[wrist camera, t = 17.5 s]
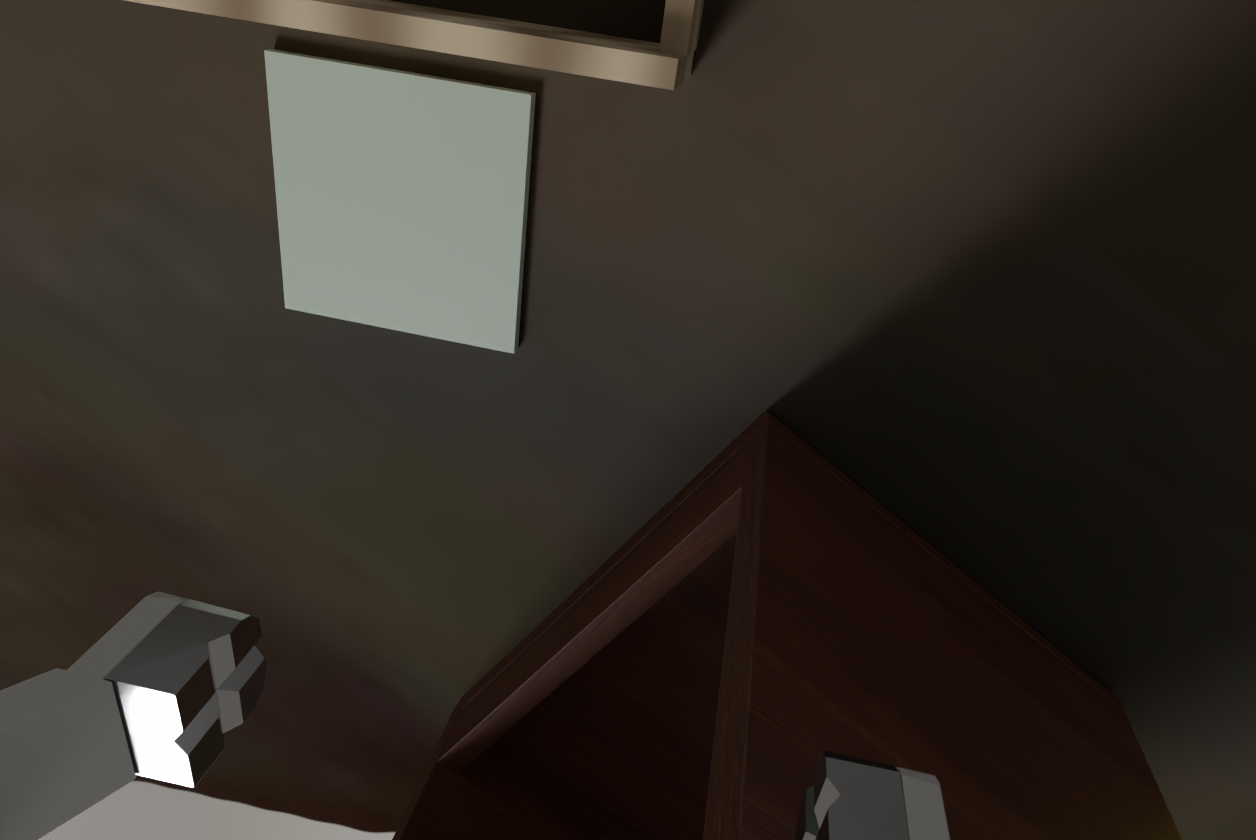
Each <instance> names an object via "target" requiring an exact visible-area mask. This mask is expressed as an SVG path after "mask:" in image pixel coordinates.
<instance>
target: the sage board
mask: <svg viewBox="0 0 1256 840" xmlns="http://www.w3.org/2000/svg"><path fill="white" fill-rule="evenodd" d="M264 53H265V65H266V78H267V90H268V102H269V114H270V127H271V139H272V151H273V164H274V176H275V188H276V201H277V213H278V225H279V238H280V250H281V262H282V275H283V287H284V299H285V308H287V309H292V310H297V311H302V312H307V313H312V314H317V315H322V316H327V317H332V318H337V319H342V320H347V321H353V322H358V323H363V324H368V325H373V326H378V327H383V328H388V329H393V330H398V331H403V332H408V333H413V334H418V335H423V336H428V337H433V338H438V339H443V340H448V341H453V342H458V343H463V344H468V345H473V346H478V347H483V348H488V349H493V350H498V351H503V352H508V353H513V354H514V353H515V352H516V350H517V349H518V342H519V328H520V314H521V299H522V285H523V270H524V256H525V242H526V227H527V213H528V198H529V184H530V170H531V155H532V141H533V127H534V112H535V98H536V93H533V92H527V91H521V90H515V89H509V88H503V87H497V86H491V85H485V84H479V83H473V82H467V81H461V80H455V79H449V78H443V77H437V76H431V75H425V74H419V73H413V72H407V71H401V70H395V69H389V68H383V67H377V66H371V65H365V64H359V63H353V62H347V61H341V60H335V59H329V58H323V57H317V56H311V55H305V54H299V53H293V52H287V51H281V50H275V49H271V50H264Z"/></svg>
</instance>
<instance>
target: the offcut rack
mask: <svg viewBox="0 0 1256 840" xmlns="http://www.w3.org/2000/svg"><path fill="white" fill-rule="evenodd" d="M125 1H131V2H137V3H143V4H150V5H156V6H162V7H168V8H174V9H180V10H186V11H192V12H198V13H205V14H211V15H217V16H223V17H229V18H235V19H241V20H247V21H253V22H260V23H266V24H272V25H278V26H284V27H290V28H296V29H302V30H308V31H315V32H321V33H327V34H333V35H339V36H345V37H351V38H357V39H363V40H370V41H376V42H382V43H388V44H394V45H400V46H406V47H412V48H418V49H425V50H431V51H437V52H443V53H449V54H455V55H461V56H467V57H473V58H480V59H486V60H492V61H498V62H504V63H510V64H516V65H522V66H528V67H535V68H541V69H547V70H553V71H559V72H565V73H571V74H577V75H583V76H590V77H596V78H602V79H608V80H614V81H620V82H626V83H632V84H638V85H645V86H651V87H657V88H663V89H669V90H675V89H676V88H677V87H678V86H679V85H680V84H682V83H683V82H684V81H685V80H686V79H688V78H689V77H690V75H691V69H692V62H693V56H694V51H695V50H696V49H697V44H698V37H699V31H700V25H701V18H702V12H703V5H704V0H666V4H665V11H664V19H663V26H662V33H661V41H660V43H655V42H648V41H642V40H636V39H629V38H623V37H617V36H610V35H604V34H598V33H591V32H585V31H579V30H572V29H566V28H560V27H553V26H547V25H541V24H535V23H528V22H522V21H516V20H509V19H503V18H497V17H490V16H484V15H478V14H471V13H465V12H459V11H452V10H446V9H440V8H433V7H427V6H421V5H414V4H408V3H402V2H395V1H389V0H125Z"/></svg>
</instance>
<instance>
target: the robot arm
mask: <svg viewBox="0 0 1256 840" xmlns="http://www.w3.org/2000/svg"><path fill="white" fill-rule="evenodd" d="M261 636H262V634H261V628H260V623H259V618H256V617H254V616H251V615H247V614H244V613H240V612H236V611H232V610H229V609H225V608H221V607H217V606H213V605H210V604H206V603H202V602H198V601H195V600H191V599H186V598H182V597H178V596H174V595H170V594H166V593H162V592H156V593H153V594H151V595H148V596H146V597H145V598H144V599H142V600H141V601H140V602H139V603H138V604H137V605H136V606H135V607H134V608H133V609H132V610H131V611H130V612H129V613H127V614H126V615H125V616H124V617H123V618H122V619H121V620H120V621H119V622H118V623H117V624H116V625H115V626H113V627H112V628H111V629H110V630H109V631H108V632H107V633H106V634H105V635H104V636H103V637H102V638H101V639H100V640H98V641H97V642H96V643H95V644H94V645H93V646H92V647H91V648H90V649H89V650H88V651H87V652H86V653H85V654H83V655H82V656H81V657H80V658H79V659H78V660H77V661H76V662H75V663H74V664H73V665H72V666H71V667H70V668H68V669H67V670H63V669H58V668H56V669H53V670H51V671H48V672H46V673H43V674H41V675H38V676H36V677H33V678H31V679H28V680H26V681H23V682H21V683H18V684H16V685H13V686H11V687H8V688H6V689H3V690H1V691H0V840H38V839H39V838H41V837H43V836H44V835H46V834H47V833H49V832H51V831H52V830H54V829H55V828H57V827H58V826H60V825H62V824H63V823H65V822H67V821H68V820H70V819H71V818H73V817H75V816H76V815H78V814H80V813H81V812H83V811H84V810H86V809H88V808H89V807H91V806H92V805H94V804H96V803H97V802H99V801H101V800H102V799H104V798H105V797H107V796H108V795H110V794H112V793H113V792H115V791H116V790H118V789H120V788H122V787H123V786H125V785H126V784H128V783H130V782H131V781H133V780H134V779H136V775H139V776H144V777H148V778H152V779H157V780H161V781H166V782H170V783H174V784H179V785H183V786H187V787H192V788H195V786H196V785H197V784H198V782H199V781H200V780H201V778H202V777H203V776H204V774H205V773H206V772H207V770H208V769H209V768H210V767H211V765H212V764H213V763H214V761H215V760H216V759H217V757H218V756H219V755H220V753H221V752H222V751H223V749H224V734H223V733H225V732H227V731H229V730H231V729H232V728H234V727H236V726H238V725H240V724H242V723H244V721H245V720H246V718H247V717H248V716H249V714H250V713H251V712H252V710H253V709H254V707H255V706H256V703H257V701H258V699H259V696H260V694H261V692H262V689H263V687H264V681H265V674H266V666H265V658H264V657H263V656H262V654H261V653H260V652H259V651H258V650H257V648H256V647H255V646H254V645H255V644H256V642H257V641H258V640H259V639H260V637H261ZM813 772H814V785H812V786H811V787H809V788H807V789H806V790H805V793H804V796H803V799H802V802H801V805H800V810H799V815H798V821H797V826H796V839H795V840H950V836H949V830H948V825H947V819H946V814H945V809H944V803H943V798H942V792H941V787H940V783H939V781H938V780H937V778H936V776H934V775H930V774H926V773H921V772H917V771H913V770H908V769H904V768H900V767H896V768H895V767H894V766H893V765H889V764H884V763H880V762H875V761H871V760H866V759H862V758H858V757H853V756H849V755H844V754H840V753H835V752H831V751H826V750H822V751H821V752H820V753H819V755H818V757H817V759H816V762H815V765H814V767H813Z"/></svg>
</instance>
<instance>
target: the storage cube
mask: <svg viewBox="0 0 1256 840" xmlns="http://www.w3.org/2000/svg"><path fill="white" fill-rule="evenodd" d="M822 750H826V751H831V752H835V753H840V754H844V755H849V756H853V757H858V758H862V759H866V760H871V761H875V762H880V763H884V764H889V765H893V766H894V767H895V768H896V767H900V768H904V769H908V770H913V771H917V772H921V773H926V774H930V775H934V776H936V778H937V780H938V781H939V783H940V787H941V792H942V798H943V803H944V809H945V814H946V819H947V825H948V830H949V836H950V840H1182V839H1181V836H1180V834H1179V832H1178V830H1177V827H1176V825H1175V823H1174V821H1173V819H1172V816H1171V814H1170V812H1169V810H1168V807H1167V805H1166V803H1165V801H1164V798H1163V796H1162V794H1161V792H1160V790H1159V787H1158V785H1157V783H1156V781H1155V778H1154V776H1153V774H1152V772H1151V770H1150V767H1149V765H1148V763H1147V761H1146V758H1145V756H1144V754H1143V752H1142V749H1141V747H1140V745H1139V743H1138V741H1137V738H1136V736H1135V734H1134V732H1133V729H1132V727H1131V725H1130V723H1129V720H1128V718H1127V716H1126V714H1125V711H1124V709H1123V707H1122V704H1121V702H1120V700H1119V699H1118V698H1117V697H1116V696H1114V695H1113V694H1112V693H1111V692H1109V691H1108V690H1107V689H1106V688H1105V687H1103V686H1102V685H1101V684H1100V683H1098V682H1097V681H1096V680H1095V679H1094V678H1092V677H1091V676H1090V675H1089V674H1087V673H1086V672H1085V671H1084V670H1083V669H1081V668H1080V667H1079V666H1078V665H1077V664H1075V663H1074V662H1073V661H1072V660H1070V659H1069V658H1068V657H1067V656H1066V655H1064V654H1063V653H1062V652H1061V651H1059V650H1058V649H1057V648H1056V647H1055V646H1053V645H1052V644H1051V643H1050V642H1048V641H1047V640H1046V639H1045V638H1044V637H1042V636H1041V635H1040V634H1039V633H1037V632H1036V631H1035V630H1034V629H1033V628H1031V627H1030V626H1029V625H1028V624H1026V623H1025V622H1024V621H1023V620H1022V619H1020V618H1019V617H1018V616H1017V615H1015V614H1014V613H1013V612H1012V611H1011V610H1009V609H1008V608H1007V607H1006V606H1005V605H1003V604H1002V603H1001V602H1000V601H998V600H997V599H996V598H995V597H994V596H992V595H991V594H990V593H989V592H987V591H986V590H985V589H984V588H983V587H981V586H980V585H979V584H978V583H976V582H975V581H974V580H973V579H972V578H970V577H969V576H968V575H967V574H965V573H964V572H963V571H962V570H961V569H959V568H958V567H957V566H956V565H954V564H953V563H952V562H951V561H950V560H948V559H947V558H946V557H945V556H943V555H942V554H941V553H940V552H939V551H937V550H936V549H935V548H934V547H932V546H931V545H930V544H929V543H928V542H926V541H925V540H924V539H923V538H922V537H920V536H919V535H918V534H917V533H915V532H914V531H913V530H912V529H911V528H909V527H908V526H907V525H906V524H904V523H903V522H902V521H901V520H900V519H898V518H897V517H896V516H895V515H893V514H892V513H891V512H890V511H889V510H887V509H886V508H885V507H884V506H882V505H881V504H880V503H879V502H878V501H876V500H875V499H874V498H873V497H871V496H870V495H869V494H868V493H867V492H865V491H864V490H863V489H862V488H860V487H859V486H858V485H857V484H856V483H854V482H853V481H852V480H851V479H850V478H848V477H847V476H846V475H845V474H843V473H842V472H841V471H840V470H839V469H837V468H836V467H835V466H834V465H832V464H831V463H830V462H829V461H828V460H826V459H825V458H824V457H823V456H821V455H820V454H819V453H818V452H817V451H815V450H814V449H813V448H812V447H810V446H809V445H808V444H807V443H806V442H804V441H803V440H802V439H801V438H799V437H798V436H797V435H796V434H795V433H793V432H792V431H791V430H790V429H788V428H787V427H786V426H785V425H784V424H782V423H781V422H780V421H779V420H778V419H776V418H775V417H774V416H773V415H771V414H770V413H769V412H765V413H763V414H761V415H760V416H759V417H758V418H757V419H756V420H755V421H754V422H753V423H752V424H751V425H750V426H749V427H747V428H746V429H745V430H744V431H743V432H742V433H741V434H740V435H739V436H738V437H737V438H736V439H735V440H734V441H733V442H732V443H731V444H730V445H728V446H727V447H726V448H725V449H724V450H723V451H722V452H721V453H720V454H719V455H718V456H717V457H716V458H715V459H714V460H713V461H712V462H711V463H709V464H708V465H707V466H706V467H705V468H704V469H703V470H702V471H701V472H700V473H699V474H698V475H697V476H696V477H695V478H694V479H693V480H692V481H690V482H689V483H688V484H687V485H686V486H685V487H684V488H683V489H682V490H681V491H680V492H679V493H678V494H677V495H676V496H675V497H674V498H673V499H671V500H670V501H669V502H668V503H667V504H666V505H665V506H664V507H663V508H662V509H661V510H660V511H659V512H658V513H657V514H656V515H655V516H654V517H652V518H651V519H650V520H649V521H648V522H647V523H646V524H645V525H644V526H643V527H642V528H641V529H640V530H639V531H638V532H637V533H636V534H635V535H634V536H632V537H631V538H630V539H629V540H628V541H627V542H626V543H625V544H624V545H623V546H622V547H621V548H620V549H619V550H618V551H617V552H616V553H615V554H613V555H612V556H611V557H610V558H609V559H608V560H607V561H606V562H605V563H604V564H603V565H602V566H601V567H600V568H599V569H598V570H597V571H596V572H594V573H593V574H592V575H591V576H590V577H589V578H588V579H587V580H586V581H585V582H584V583H583V584H582V585H581V586H580V587H579V588H578V589H577V590H575V591H574V592H573V593H572V594H571V595H570V596H569V597H568V598H567V599H566V600H565V601H564V602H563V603H562V604H561V605H560V606H559V607H558V608H556V609H555V610H554V611H553V612H552V613H551V614H550V615H549V616H548V617H547V618H546V619H545V620H544V621H543V622H542V623H541V624H540V625H539V626H537V627H536V628H535V629H534V630H533V631H532V632H531V633H530V634H529V635H528V636H527V637H526V638H525V639H524V640H523V641H522V642H521V643H520V644H518V645H517V646H516V647H515V648H514V649H513V650H512V651H511V652H510V653H509V654H508V655H507V656H506V657H505V658H504V659H503V660H502V661H501V662H499V663H498V664H497V665H496V666H495V667H494V668H493V669H492V670H491V671H490V672H489V673H488V674H487V675H486V676H485V677H484V678H483V679H482V680H480V681H479V682H478V683H477V684H476V685H475V686H474V687H473V688H472V689H471V690H470V691H469V692H468V693H467V694H466V695H465V696H464V697H463V698H462V699H461V700H460V701H459V702H458V704H457V705H456V707H455V709H454V710H453V712H452V714H451V717H450V719H449V721H448V723H447V725H446V727H445V730H444V732H443V734H442V736H441V738H440V740H439V742H438V744H437V746H436V749H435V751H434V753H433V755H432V757H431V759H430V761H429V763H428V765H427V768H426V770H425V772H424V774H423V776H422V778H421V780H420V782H419V784H418V786H417V789H416V791H415V793H414V795H413V797H412V799H411V801H410V803H409V805H408V808H407V810H406V812H405V814H404V816H403V818H402V820H401V822H400V824H399V827H398V829H397V831H396V833H395V835H394V837H393V839H392V840H795V839H796V826H797V821H798V815H799V810H800V805H801V802H802V799H803V796H804V793H805V790H806V789H807V788H809V787H811V786H812V785H814V772H813V767H814V765H815V762H816V759H817V757H818V755H819V753H820V752H821V751H822Z"/></svg>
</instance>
